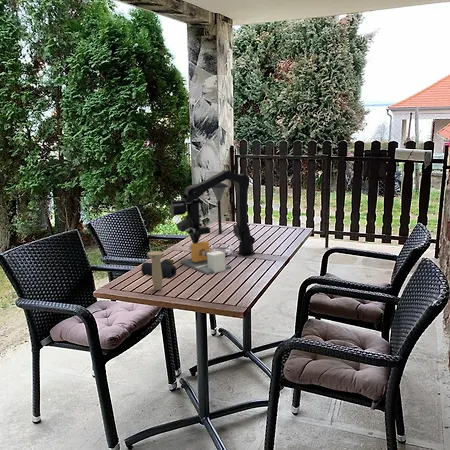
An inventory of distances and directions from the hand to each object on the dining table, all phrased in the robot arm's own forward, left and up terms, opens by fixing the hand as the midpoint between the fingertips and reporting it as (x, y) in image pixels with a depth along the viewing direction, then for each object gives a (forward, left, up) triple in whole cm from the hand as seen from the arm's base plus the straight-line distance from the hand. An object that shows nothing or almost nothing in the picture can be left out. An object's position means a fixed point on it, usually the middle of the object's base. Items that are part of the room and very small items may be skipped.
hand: (195, 245), depth 210 cm
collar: (0, +4, -6) cm, 7 cm away
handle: (+31, +20, -8) cm, 38 cm away
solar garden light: (-41, -37, -8) cm, 56 cm away
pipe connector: (+19, +3, -8) cm, 21 cm away
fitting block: (0, +17, -8) cm, 19 cm away
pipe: (0, +7, -3) cm, 7 cm away
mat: (0, +8, -8) cm, 11 cm away
